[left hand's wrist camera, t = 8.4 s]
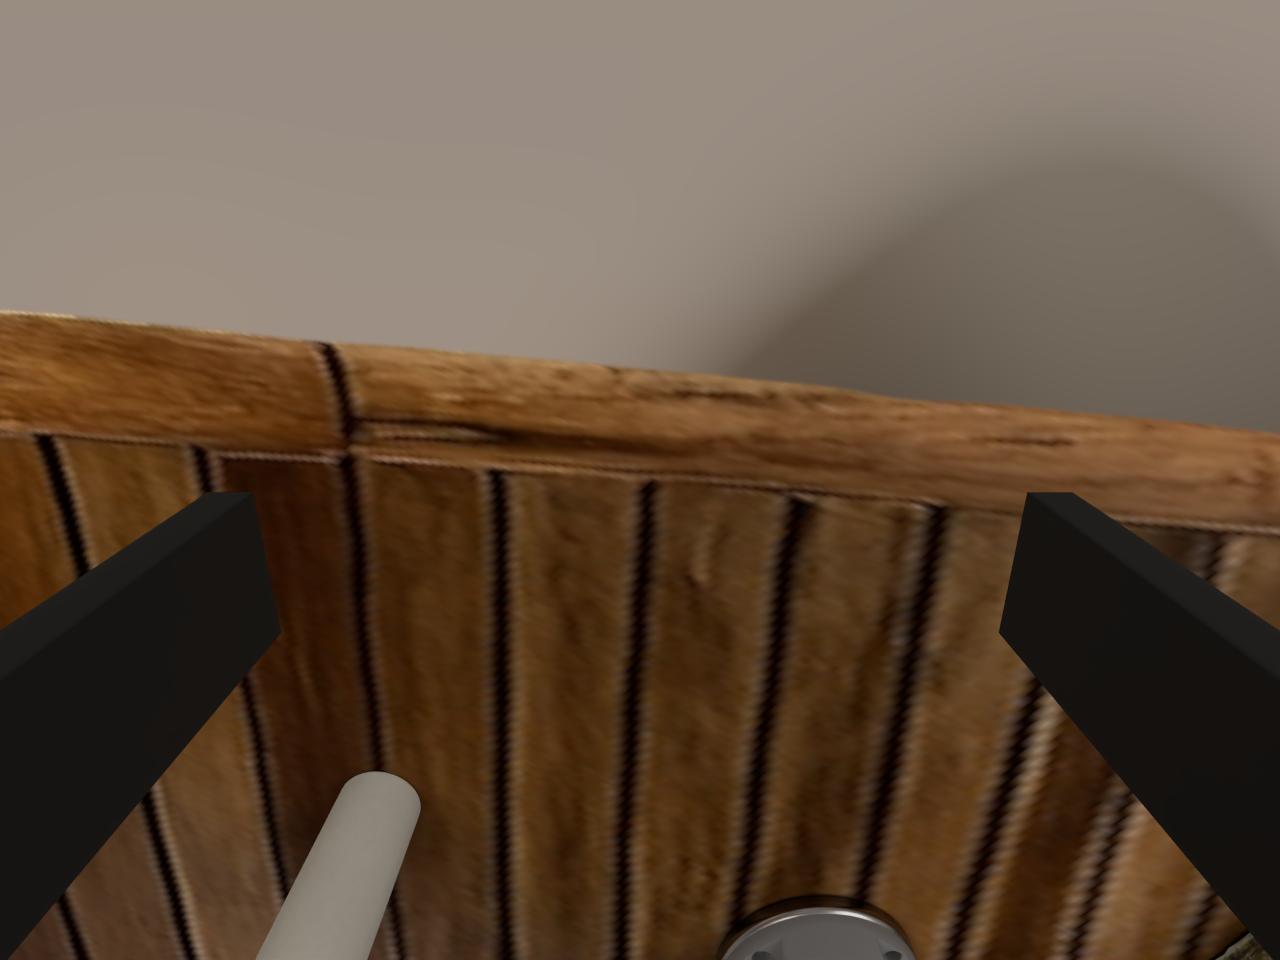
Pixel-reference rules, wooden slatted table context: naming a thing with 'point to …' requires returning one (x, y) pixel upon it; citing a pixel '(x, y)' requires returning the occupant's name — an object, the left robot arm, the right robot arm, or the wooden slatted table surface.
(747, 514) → the wooden slatted table surface
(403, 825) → the bottle
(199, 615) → the left robot arm
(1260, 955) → the fossil
